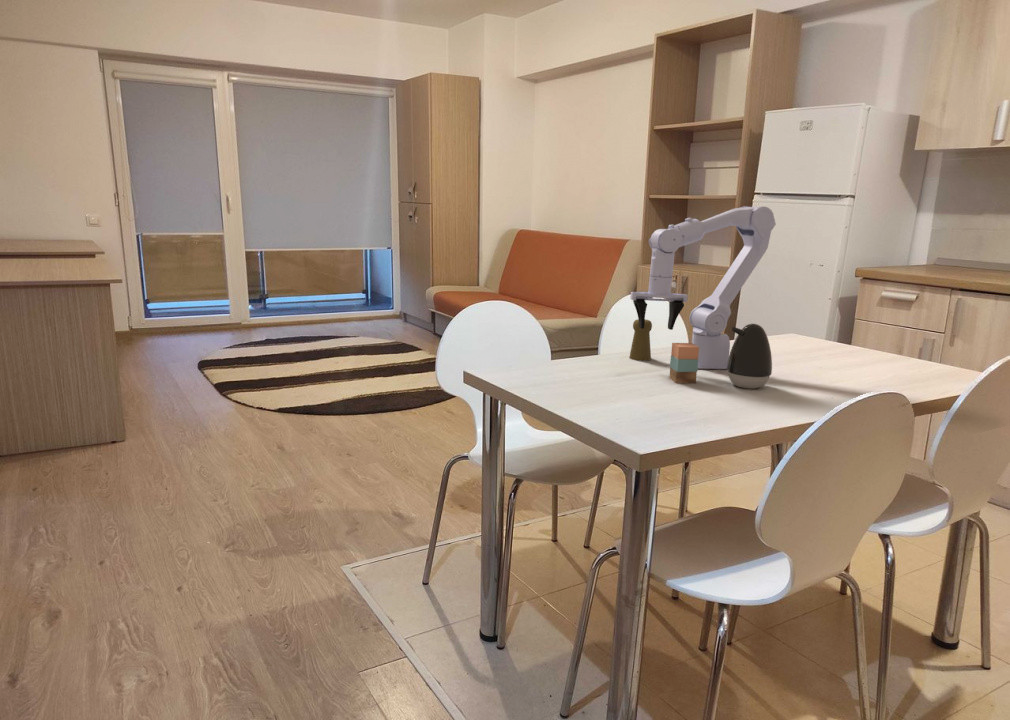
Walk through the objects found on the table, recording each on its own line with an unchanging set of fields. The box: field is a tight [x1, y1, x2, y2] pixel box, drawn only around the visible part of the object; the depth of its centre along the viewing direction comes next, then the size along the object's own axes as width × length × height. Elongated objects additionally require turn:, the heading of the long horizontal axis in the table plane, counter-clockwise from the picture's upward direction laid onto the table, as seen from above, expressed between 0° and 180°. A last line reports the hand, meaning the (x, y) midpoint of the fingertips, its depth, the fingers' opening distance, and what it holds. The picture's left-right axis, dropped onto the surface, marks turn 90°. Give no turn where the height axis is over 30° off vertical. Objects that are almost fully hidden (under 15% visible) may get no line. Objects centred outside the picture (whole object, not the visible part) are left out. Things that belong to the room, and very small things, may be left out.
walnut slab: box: [669, 366, 698, 384], centre depth 170 cm, size 5×5×3 cm
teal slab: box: [669, 355, 698, 372], centre depth 169 cm, size 5×5×3 cm
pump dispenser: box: [726, 323, 773, 390], centre depth 165 cm, size 10×10×15 cm
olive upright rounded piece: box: [628, 318, 653, 362], centre depth 193 cm, size 6×6×11 cm
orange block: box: [670, 342, 699, 359], centre depth 169 cm, size 5×5×3 cm
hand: (655, 328), depth 181 cm, fingers open, 7 cm apart
